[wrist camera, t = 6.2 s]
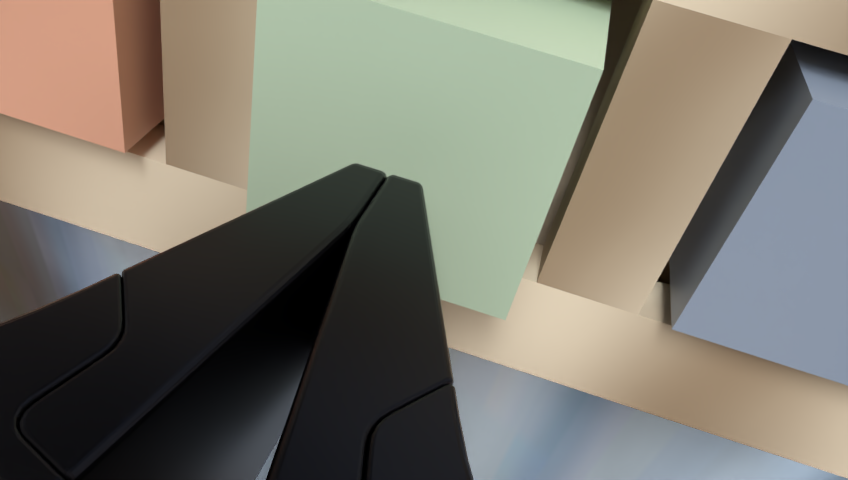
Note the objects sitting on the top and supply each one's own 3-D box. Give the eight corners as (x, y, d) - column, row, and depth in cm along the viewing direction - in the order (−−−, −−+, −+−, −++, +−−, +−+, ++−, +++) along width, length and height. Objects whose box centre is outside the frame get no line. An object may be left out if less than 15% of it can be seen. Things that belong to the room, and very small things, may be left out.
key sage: (612, -6, 10) (603, 70, 8) (527, 221, 12) (505, 320, 10) (333, -87, 10) (259, -33, 8) (307, 151, 13) (244, 236, 11)
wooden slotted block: (1247, -89, 10) (1514, 11, 7) (867, 341, 16) (919, 502, 13) (-65, -438, 11) (-334, -486, 8) (23, 76, 17) (-116, 162, 14)
